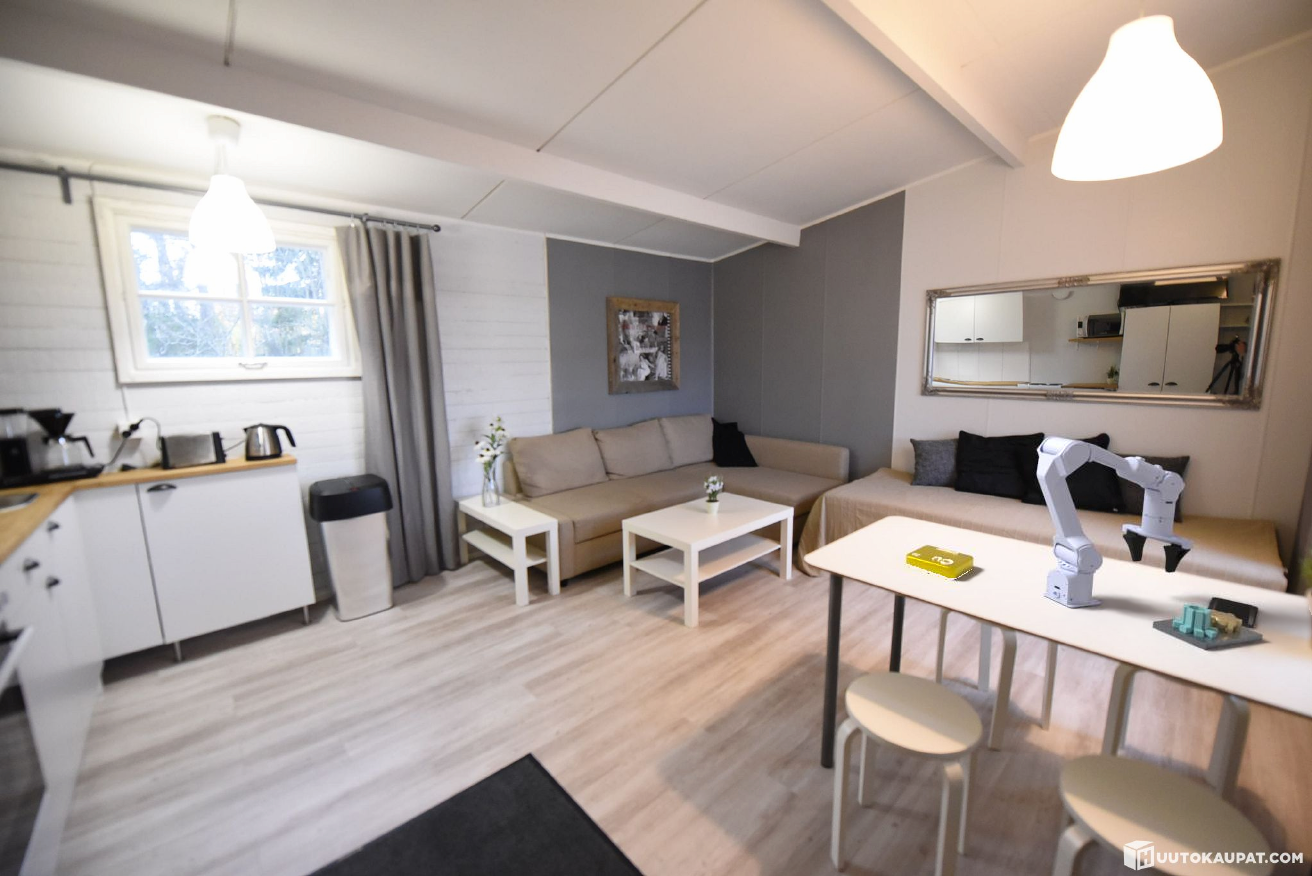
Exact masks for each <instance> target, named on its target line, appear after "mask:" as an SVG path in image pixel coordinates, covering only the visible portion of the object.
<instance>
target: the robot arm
mask: <svg viewBox="0 0 1312 876" xmlns="http://www.w3.org/2000/svg"><path fill="white" fill-rule="evenodd" d="M1036 451H1037V454H1038V457H1039V458H1038V462H1037V463H1038V464H1037V468H1036V469H1037V470H1036V477H1037V480H1038V483H1039V486H1040V489H1041V492H1042V495H1043V496H1044V497H1043V498H1044V499H1045V503H1046V506H1047V508H1048V511H1049V515H1050V517H1051V520H1052V523H1053V526H1054V529H1055V532H1056V534H1055V535H1053V537H1052V540H1053V547H1052V552H1053V555H1054V556H1055V557H1056V558H1057V563H1058V565H1057V567H1056V568H1054V569H1051V570H1050V571H1049V572H1048V573H1047V578H1046V589H1045V592H1043V593H1042V595H1043V596H1044V597H1046V598H1048V599H1051V600H1053V601H1055V602H1057V603H1058V604H1062V605H1064V606H1066V607H1068V608H1071V609H1073V608H1079V607H1080V608H1081V607H1087V606H1095V605H1101V601H1100V600H1099V601H1098V600H1097V599H1095V598H1093V597H1092V596H1093V585H1094V575H1095V574H1096V571H1099V569H1100V568H1101V567H1102V565H1103V562H1104V559H1103V555H1102V554H1101V553H1100V551H1098V550H1097V549H1096V546H1095V544H1094V542H1093V541H1092V540H1091V539H1089V537H1088V536H1087V535H1086V534H1085V533H1084V530H1083V527H1082V524H1081V522H1080V521H1081V520H1080V518H1079V516H1078V513H1077V509H1076V506H1075V503H1074V502H1073V497H1072V495H1071V493H1070V489H1069V486H1068V483H1067V480H1066V478H1067V477H1068V476H1069V475H1071V474H1072V473H1073V472H1074V471H1076V470H1077V469H1079V468H1080V467H1081V466H1082V465H1084V464H1085V463H1086V462H1089V463H1092V462H1096V463H1099V464H1101V465H1104V466H1106V467H1110V468H1112V469H1114V470H1115V472H1116V474H1117V476H1118V477H1120V478H1123V479H1125V480H1128V481H1129V482H1132V483H1135V484H1137V485H1139V486H1140V487H1141V488H1142V489H1144V496H1143V498H1144V499H1143V506H1142V508H1143V509H1142V518H1141V525H1135V524H1130V523H1127V524H1126V523H1124V524H1122V532H1123V533H1124V534H1122V538H1123V539H1124V541H1125V543H1126V544H1127V547H1128V550H1129V552H1130V557H1131V560H1132V562H1135V563H1136V562H1142V559H1143V554H1144V547H1145V544H1146V541H1147V539H1148V538H1149V539H1152V540H1155V541H1159V542H1162V543H1166V545H1163V550H1164V555H1165V556H1164V557H1165V565H1164V570H1165V571H1164V572H1165V573H1168V574H1170V573H1175V572H1176V570H1177V568H1178V566H1179V564H1180V563H1181V561H1182V560H1183V558H1184V557H1185V556H1186V555H1187V554H1188V553H1189V552H1190V551H1191V549H1194V541H1193V540H1191V539H1187V538H1185V537H1183V536H1180V535H1177V534H1174V533H1173V529H1174V519H1175V512H1176V511H1175V510H1176V503H1177V500H1179V497H1180V496H1179V495H1180V493H1181V492H1182V491H1183V490H1184V489H1185V486H1186V483H1185V482H1184V479H1183V478H1182V477H1181V475H1180V474H1178V473H1177V472H1174V471H1169V470H1164V469H1163V466H1161V465H1159V464H1154V465H1153V464H1151V463H1149V462H1147V461H1146V459H1145V458H1143V457H1141V456H1128V457H1122V456H1120V455H1117V454H1115V453H1113V452H1111V451H1110V450H1107V449H1105V448H1102V447H1100V446H1098V445H1096V444H1092V443H1089V442H1085V441H1083V440H1078V439H1077V440H1074V439H1070V438H1064V437H1061V436H1057V435H1056V436H1055V435H1052V436H1051V435H1050V436H1047V438H1045V439H1043V440H1042V442H1041V444H1040V445H1039V446H1038V447H1037V448H1036ZM1167 544H1168V545H1167Z"/></svg>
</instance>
